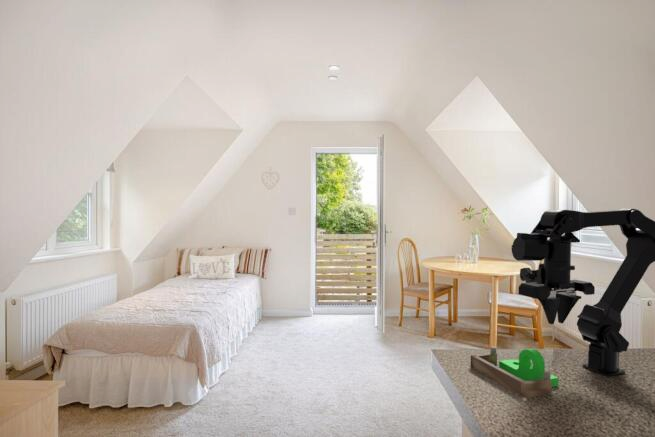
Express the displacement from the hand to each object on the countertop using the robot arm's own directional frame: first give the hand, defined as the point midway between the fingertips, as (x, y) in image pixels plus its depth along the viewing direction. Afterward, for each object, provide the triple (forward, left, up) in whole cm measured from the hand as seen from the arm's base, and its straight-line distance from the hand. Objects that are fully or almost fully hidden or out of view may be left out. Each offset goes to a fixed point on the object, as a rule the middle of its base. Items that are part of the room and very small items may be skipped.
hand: (555, 323), depth 96 cm
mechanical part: (+9, 0, -12) cm, 15 cm away
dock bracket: (+15, 0, -12) cm, 19 cm away
